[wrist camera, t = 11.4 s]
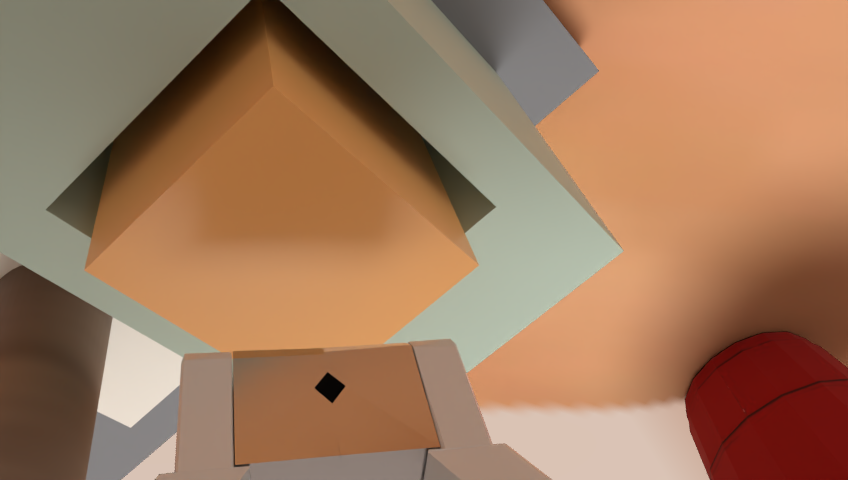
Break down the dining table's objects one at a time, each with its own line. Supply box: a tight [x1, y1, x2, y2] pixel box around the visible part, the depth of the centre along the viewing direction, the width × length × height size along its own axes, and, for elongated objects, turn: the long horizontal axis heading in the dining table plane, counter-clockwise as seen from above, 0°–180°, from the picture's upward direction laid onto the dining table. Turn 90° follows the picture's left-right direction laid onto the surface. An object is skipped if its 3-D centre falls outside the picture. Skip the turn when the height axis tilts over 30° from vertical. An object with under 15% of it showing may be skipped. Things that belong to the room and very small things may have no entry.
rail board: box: [0, 0, 623, 480], centre depth 18 cm, size 14×24×10 cm, turn 131°
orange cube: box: [84, 0, 479, 359], centre depth 13 cm, size 4×4×4 cm
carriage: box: [0, 253, 183, 480], centre depth 16 cm, size 7×4×10 cm, turn 41°
